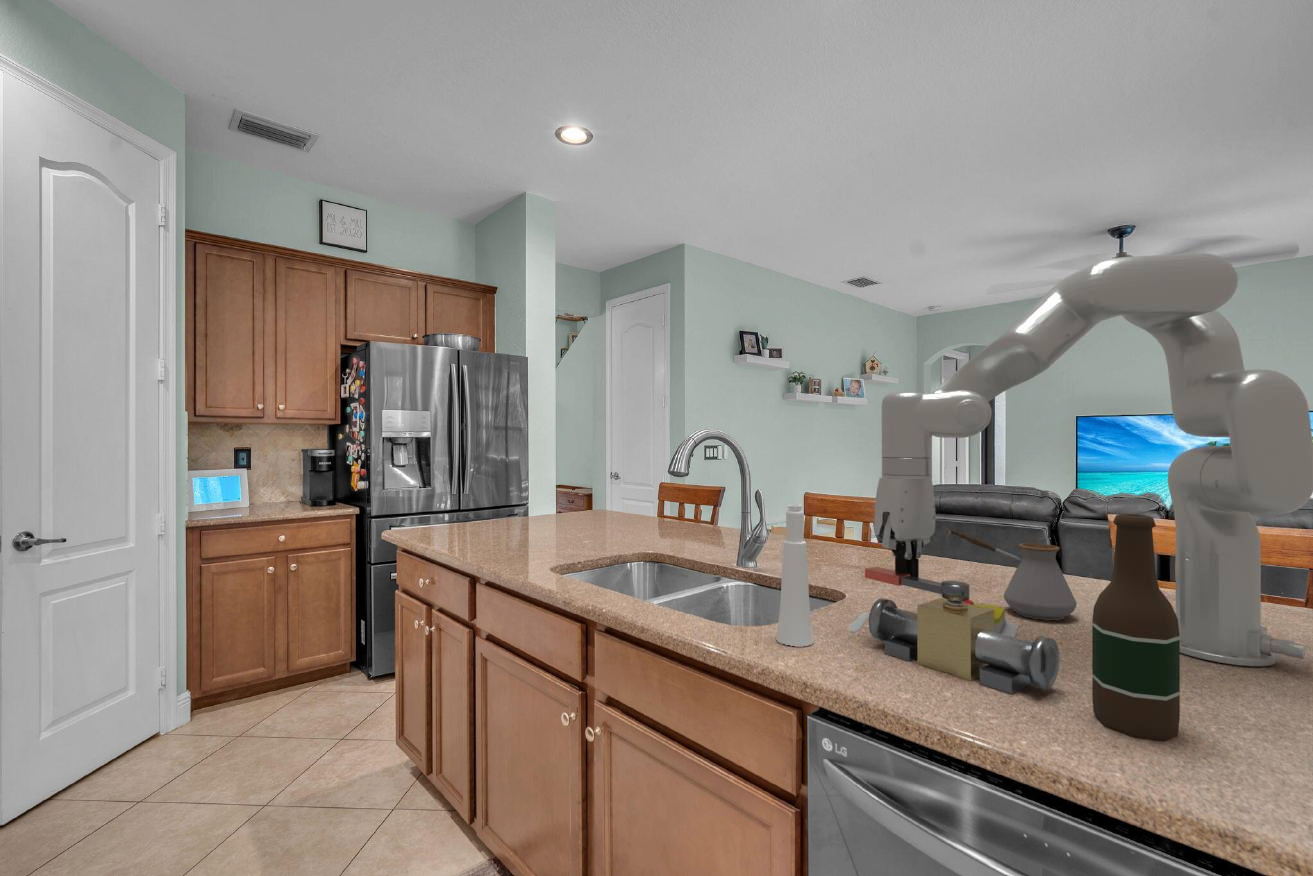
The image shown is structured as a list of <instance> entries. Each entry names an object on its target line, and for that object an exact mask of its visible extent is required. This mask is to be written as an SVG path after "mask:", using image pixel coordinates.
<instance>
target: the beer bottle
mask: <svg viewBox="0 0 1313 876" xmlns="http://www.w3.org/2000/svg"><path fill="white" fill-rule="evenodd" d="M1112 523H1113V524H1114V525H1115V526H1116V530H1115V545H1114V559H1113V569H1112V574H1111V578H1110V583H1109V584H1107V586H1105V588H1104V590H1102V591H1101V592H1100V593H1099V595H1098V597H1097V599H1096V601H1095V603H1094V605H1093V610H1092V611H1093V612H1092V621H1091V622H1092V623H1091V625H1092V627H1091V632H1092V634H1091V635H1092V638H1091V639H1092V640H1091V641H1092V643H1091V644H1092V645H1091V647H1092V650H1091V651H1092V653H1091V655H1092V656H1091V658H1092V659H1091V662H1092V663H1091V666H1092V668H1091V669H1092V673H1091V675H1092V680H1091V681H1092V683H1091V684H1092V685H1091V686H1092V692H1091V693H1092V696H1091V697H1092V707H1093V708H1092V710H1093V714H1094V716H1095V717H1096V718H1097V719H1098V720H1099V721H1100V723H1101V724H1103V726H1104V727H1107V728H1109V729H1112V730H1114V731H1117V732H1119V733H1121V734H1124V735H1127V736H1130V737H1133V738H1140V739H1147V740H1154V741H1155V740H1156V741H1162V742H1165V741H1166V740H1169V739H1171V738H1173V737H1175V736H1177V735H1178V733H1179V730H1180V718H1181V715H1180V714H1181V709H1180V708H1181V706H1180V705H1181V704H1180V703H1181V695H1180V694H1181V693H1180V692H1181V691H1180V690H1181V688H1180V687H1181V685H1180V683H1181V681H1180V679H1181V678H1180V677H1181V676H1180V675H1181V674H1180V673H1181V672H1180V670H1181V666H1180V663H1181V657H1180V656H1181V655H1180V635H1179V625H1178V618H1177V616H1176V611H1175V608H1173V606H1172V603H1171V602H1170V601H1169V600H1168V598H1167V597H1166V595H1165V594H1164V593H1163V591H1162V590H1161V589H1160V586H1159V581H1158V578H1157V571H1156V559H1155V550H1154V549H1155V547H1154V536H1153V535H1154V534H1153V528H1155V527H1156V526H1157V525H1156V522H1155V519H1154V517H1151V516H1150V515H1145V514H1139V513H1119V514H1117V515H1115V516H1114V519H1113V522H1112Z"/></svg>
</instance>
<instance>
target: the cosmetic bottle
mask: <svg viewBox="0 0 1313 876" xmlns="http://www.w3.org/2000/svg"><path fill="white" fill-rule="evenodd" d="M787 509H788V510H786V511H785V540H784V541H783V543H782V544H783V545H782V547H783V548H782V560H781V561H782V563H781V583H780V584H781V585H780V588H781V590H780V604H779V612H778V613H779V616H778V624H777V629H776V630H777V631H776V635H775V641H777V642H778V643H779V644H781V645H783V644H785V645H784V646H787V645H790V646H789V647H792V646H795V647H794V648H804V646H805V647H809V645H810V646H812V645H813V644H814V643H815V640H814V639H815V637H814V631H813V625H812V619H811V609H810V608H811V606H810V592H809V591H810V590H809V588H810V587H809V573H808V572H809V571H808V570H809V566H808V549H807V542H806V541H805V540H804V537H805V536H804V530H805V529H804V526H805V524H804V523H805V522H804V521H805V520H804V519H805V518H804V516H805V515H804V514H805V513H804V511H803V510H802V509H803V505H801V504H788V505H787Z"/></svg>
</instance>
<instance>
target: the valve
mask: <svg viewBox="0 0 1313 876" xmlns="http://www.w3.org/2000/svg"><path fill="white" fill-rule="evenodd" d="M936 599H937V598H936ZM936 599H934V600H931V601H928V602H924V603H921V604H918V605H917V612H914V611H909V610H906V609H902V608H898V606H897V604H896V603H895V601H893V600H891V599H887V598H883V597H882V598H881V597H880V598H878V599H877V600H875V601H874V603H873V605H872V607H871V608H870V611H869V613H868V629H869V633H870V634H871V636H872V637H873V638H874V639H876V640H880V641H883V642H884V654H885V655H887V654H888V656H892V657H894V656H895V657H894V658H897V659H900V658H901V660H903V661H908V662H912V661H914V660H916V659H917V665H919V666H922V667H927V668H929V669H933V670H936V671H938V670H939V671H938V672H941V673H945V674H948V675H951V676H954V677H958V678H960V679H963V680H967V681H970V682H971V681H974V680H975V679H978V678H979V685H983V686H985V687H988V688H991V689H994V690H998V691H1001V692H1003V693H1007V694H1009V695H1014V694H1015V693H1017V692H1018V691H1020V690H1022V689H1024V688H1025V687H1027V686H1029V685H1031V684H1032V685H1033V686H1034V687H1036V688H1039V689H1043V690H1046V691H1048V690H1050V689H1051V688H1052V687H1053V686H1054V684H1055V682H1056V680H1057V678H1058V674H1059V667H1060V650H1059V646H1058V643H1057V641H1056V640H1055V639H1054V638H1053V637H1047V636H1043V635H1039V636H1037V637H1035V639H1034V641H1031V640H1027V639H1023V638H1019V637H1016V636H1015V637H1011V636H1007V635H1003V634H999V633H995V632H994V609H990V608H985V607H981V606H976V605H972V604H967V603H963V601H954V600H948V599H945V598H943V597H940V599H937V600H936Z"/></svg>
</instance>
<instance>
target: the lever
mask: <svg viewBox="0 0 1313 876" xmlns="http://www.w3.org/2000/svg"><path fill="white" fill-rule="evenodd" d="M864 578H865V579H867V580H868V579H869V580H871V581H877V582H881V583H886V584H890V585H893V586H898V587H900V586H904V587H905V586H906V587H909V588H913V589H918V590H921V591H925V592H930V593H934V594H938V595H941V598H944V599H948V600H954V601H967V600H970V584H969V583H967V582H965V581H957V580H944V581H941V582H939V581H935V580H930V579H925V578H921V577H919V578H917V577H913V576H910V574H907V573H903V572H898V571H895V570H893V569H888V568H883V567H879V566H873V567H868V568H864Z"/></svg>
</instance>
